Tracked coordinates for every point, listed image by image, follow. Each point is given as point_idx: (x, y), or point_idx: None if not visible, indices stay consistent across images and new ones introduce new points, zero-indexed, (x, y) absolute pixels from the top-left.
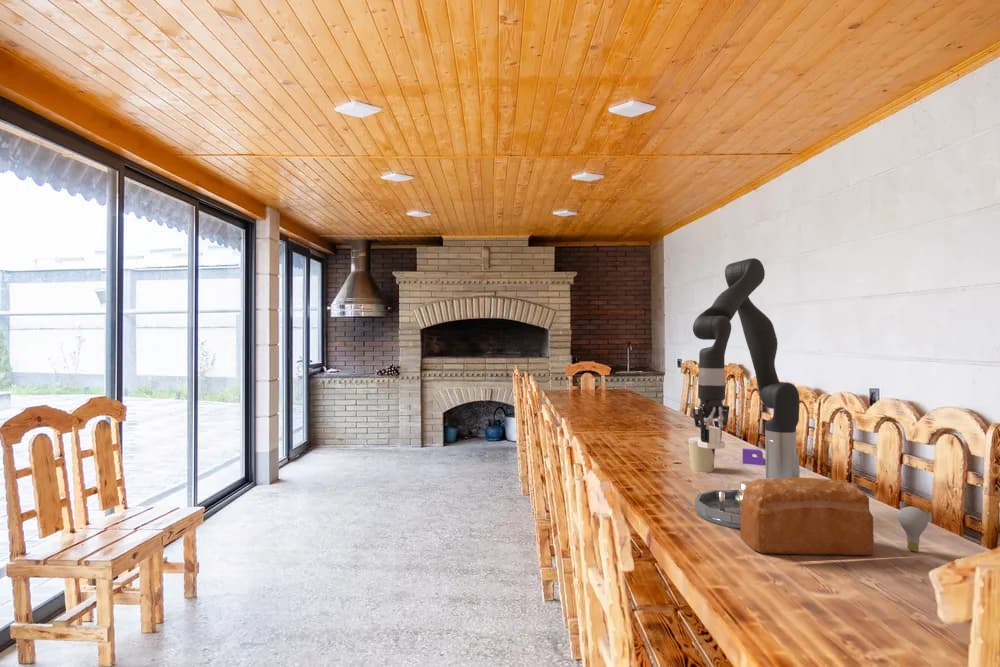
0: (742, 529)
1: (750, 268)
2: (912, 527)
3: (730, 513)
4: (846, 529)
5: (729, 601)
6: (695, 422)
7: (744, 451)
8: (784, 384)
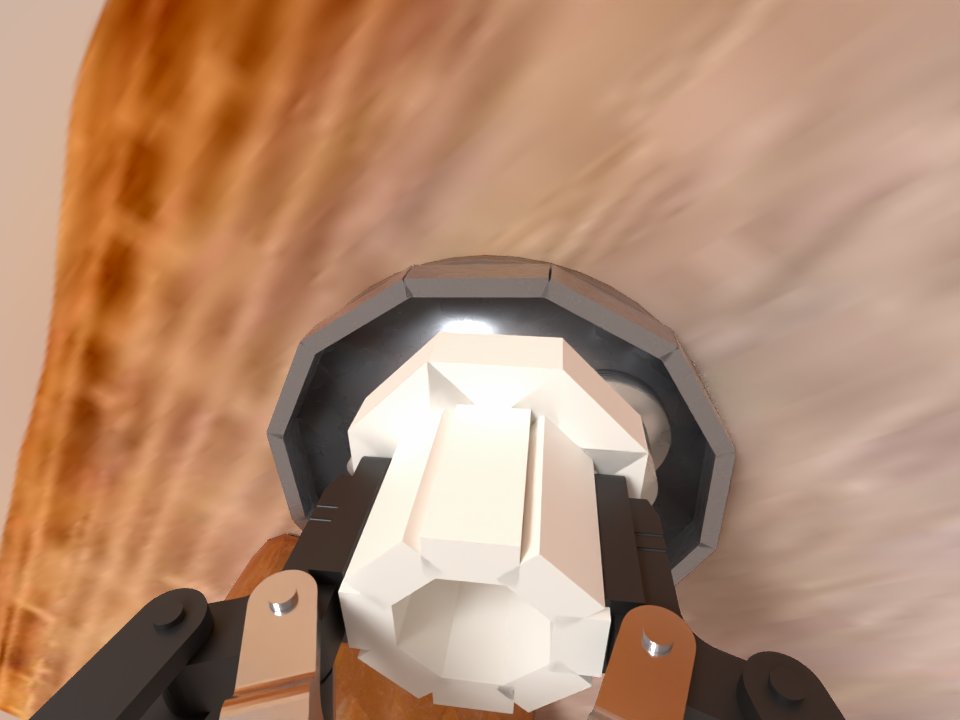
0: (247, 571)
1: None
2: None
3: (301, 512)
4: None
5: (25, 639)
6: (101, 663)
7: None
8: None
